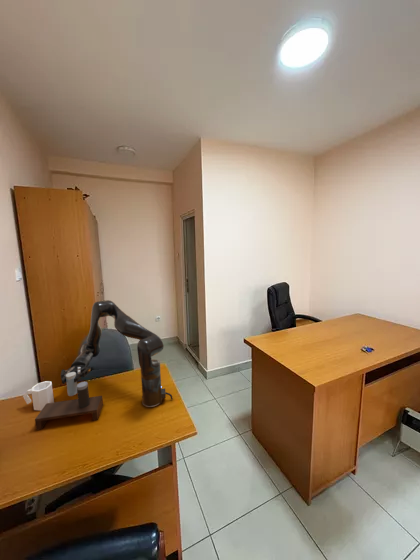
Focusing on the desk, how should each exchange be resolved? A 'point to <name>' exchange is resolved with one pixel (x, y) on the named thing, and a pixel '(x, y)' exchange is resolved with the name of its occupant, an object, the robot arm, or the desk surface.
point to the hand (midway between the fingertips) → (69, 381)
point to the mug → (40, 395)
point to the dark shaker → (83, 394)
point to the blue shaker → (71, 384)
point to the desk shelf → (68, 410)
